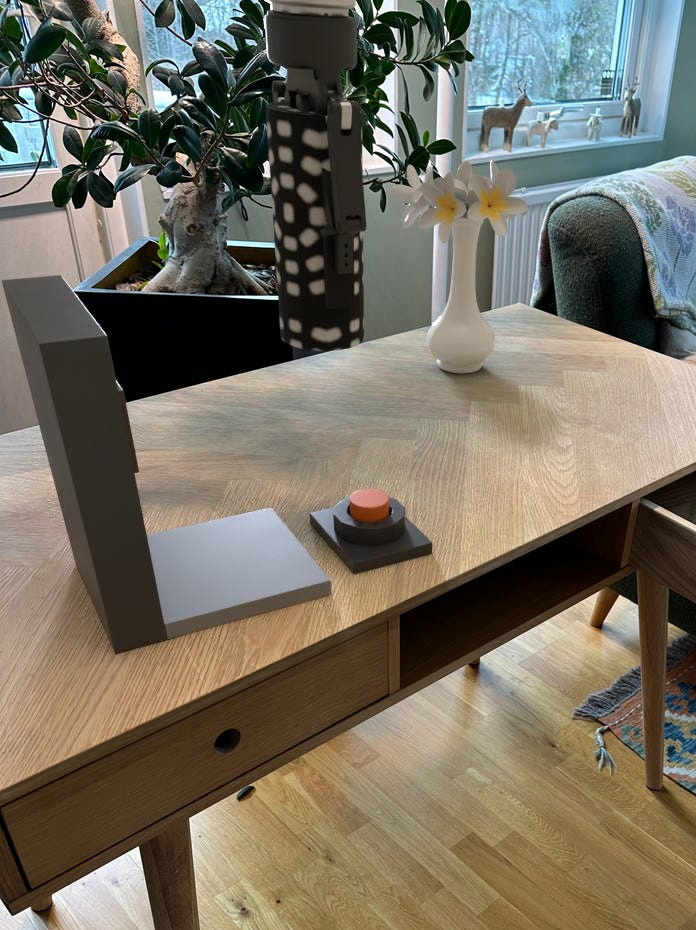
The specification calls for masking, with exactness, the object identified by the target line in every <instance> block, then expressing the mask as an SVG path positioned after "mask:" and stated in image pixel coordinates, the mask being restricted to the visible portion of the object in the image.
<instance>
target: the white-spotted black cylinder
mask: <svg viewBox="0 0 696 930" xmlns="http://www.w3.org/2000/svg"><path fill="white" fill-rule="evenodd" d="M326 115H327V114H326ZM326 115H322V114H316V113H314V112H302V111H299V110H297V107H289V106H287V105H284V102H274V101H273V102H269V103H266V104H265V116H266V117H265V118H266V132H267V133H266V135H267V151H268V163H269V179H270V180H269V181H270V194H271V195H270V196H271V209H272V225H273V241H274V253H275V254H274V255H275V269H276V270H275V271H276V286H277V301H278V313H279V314H278V315H279V330H280V338H281V340H282V342H283V343H286V344H287V345H289V346H292V347H294V348H298V349H302V350H307V351H315V352H316V351H317V352H334V351H335V352H336V351H342V350H348V349H352V348H354V347H357V346H359V345H361V344H362V343H363V342H364V340H365V308H364V307H365V299H364V298H365V293H364V292H365V291H364V290H365V289H364V286H365V283H364V280H365V279H364V232H357V234H354V290H355V307H346V308H336V309H327V308H326V307H325V285H324V256H323V236H322V235H321V233H320V230H321V229H323V228H325V227H327V224H326V219H325V213H324V208H323V198H322V168H324V169H326V170H328V171H330V161H329V150H328V139H327V124H326V122H325V116H326ZM359 138H360V151H361V163H362V176H363V177H364V175H363V173H364V172H363V171H364V169H363V110H361V109H360V128H359ZM321 167H322V168H321Z"/></svg>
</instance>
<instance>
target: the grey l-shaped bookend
mask: <svg viewBox="0 0 696 930" xmlns="http://www.w3.org/2000/svg"><path fill="white" fill-rule="evenodd" d="M1 284H2V289H3V292H4V295H5V300H6V304H7V307H8V312H9V316H10V318H11V322H12V326H13V330H14V334H15V339H16V342H17V346H18V349H19V353H20V357H21V361H22V365H23V368H24V373H25V376H26V380H27V385H28V388H29V391H30V395H31V400H32V403H33V407H34V411H35V415H36V418H37V422H38V426H39V429H40V433H41V438H42V441H43V446H44V449H45V452H46V456H47V461H48V464H49V468H50V472H51V477H52V480H53V483H54V487H55V491H56V494H57V498H58V503H59V505H60V510H61V514H62V517H63V521H64V525H65V529H66V532H67V537H68V541H69V544H70V548H71V552H72V556H73V560H74V563H75V564H74V565H75V567H76V569H77V572H78V574H79V576H80V578H81V580H82V582H83V585H84V587H85V589H86V591H87V594H88V596H89V598H90V600H91V602H92V605H93V607H94V609H95V611H96V614H97V617H98V619H99V621H100V623H101V625H102V627H103V630H104V632H105V635H106V636H107V639H108V641H109V643H110V645H111V648H112V650H113V653H114V654H120V653H123V652H126V651H131V650H134V649H138V648H142V647H146V646H149V645H152V644H157V643H160V642H163V641H167V640H171V639H174V638H178V637H183V636H186V635H189V634H193V633H197V632H200V631H204V630H207V629H211V628H215V627H219V626H223V625H225V624H226V625H227V624H230V623H234V622H237V621H241V620H245V619H247V618H251V617H255V616H258V615H262V614H266V613H270V612H273V611H276V610H281V609H284V608H288V607H291V606H292V607H293V606H295V605H299V604H302V603H306V602H309V601H313V600H318V599H321V598H324V597H328V596H331V595H332V593H333V592H332V580H331V579H330V577H329V576H328V575H327V574H326V572H325V571H324V570H323V569H322V568H321V566H320V564H319V563H317V562H316V560H315V559H314V558H313V557H312V555H311V554H310V553H309V552H308V551H307V549H306V548H305V547H304V546H303V544H302V543H301V541H299V540H298V538H297V537H296V536H295V535H294V533H293V532H292V531H291V530H290V528H289V527H288V526H287V525H286V524H285V522H284V521H283V520H282V519H281V518H280V516H279V515H278V513H276V511H275V510H274V509H273V508H272V507H271V506H270V507H267V508H262V509H257V510H252V511H248V512H243V513H239V514H235V515H229V516H225V517H221V518H216V519H212V520H206V521H201V522H199V523H193V524H188V525H184V526H180V527H174V528H170V529H167V530H162V531H157V532H153V533H149V534H148V533H147V530H146V524H145V518H144V514H143V510H142V509H143V508H142V505H141V504H142V503H141V499H140V494H139V489H138V484H137V478H136V474H138V473H140V468H139V463H138V458H137V457H138V456H137V453H136V448H135V442H134V437H133V432H132V426H131V421H130V416H129V411H128V406H127V401H126V396H125V391H124V390H123V388H122V387H121V385H120V384H119V382H118V381H117V377H116V374H115V373H116V372H115V368H114V363H113V358H112V353H111V347H110V343H109V337H108V335H107V334H106V332H105V331H104V330H103V329H102V326H101V324H100V323H98V322H97V321H96V319H95V318H94V317H93V315H92V314H91V313H90V312H89V310H88V309H87V307H86V306H85V305H84V303H83V302H82V301H81V299H80V298H79V296H78V295H77V294H76V293H75V292H74V290H73V289H72V288H71V287H70V285H69V284H68V282H67V281H66V279H65V278H64V277H63V276H62V275H61V274H57V275H48V276H46V275H45V276H36V277H23V278H13V279H12V278H11V279H2V280H1Z"/></svg>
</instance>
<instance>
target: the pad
mask: <svg viewBox="0 0 696 930" xmlns="http://www.w3.org/2000/svg"><path fill="white" fill-rule="evenodd" d="M388 497H389V516H388V518H386V519H385V520H381V521H377V522H361V521H358V520H355V519H352V518H351V516H350V496H346V497H345V498H343V499H342V500H341V501H339V502H338V503H336V504H335V505H334V507H329V508H324V509H321V510H316V511H311V512H309V524H310V525H311V526H312V527H313V528H314V530H315V531H316V532H317V533H318V534H319V536H320V537H321V538H322V539H323V541H324V542H326V544H327V545H328V546H329V547H330V549H332V551H333V552H334V553H335V554H336V556H337V557H338V558H339V559H340V560H341V561H342V562H343V564H344V565H345V566H346V567H347V568H348V569H349V570H350V572H351V573H352V574H353V575H358V574H360V573H361V574H362V573H365V572H369V571H373V570H376V569H380V568H383V567H387V566H392V565H394V564H399V563H403V562H406V561H409V560H413V559H417V558H421V557H424V556H428V555H432V554H433V546H434V545H433V542H432V541H431V540H430V539H429V538H428V537H427V535H425V534H424V533H423V532H422V531H421V530H420V529H419V528H418V527H417V526H416V525H415V524H414V523H413V522H412V521H410V519H409V518H407V516H406V507H405V506H404V505H403V504H402V503H401V502H400V501H399V500H398V499H397V498H393V497H390V496H388Z"/></svg>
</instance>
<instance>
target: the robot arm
mask: <svg viewBox="0 0 696 930" xmlns="http://www.w3.org/2000/svg"><path fill="white" fill-rule="evenodd" d="M265 2H267V3H270V10H267V11H266V14H265V15H264V22H265V25H264V26H265V40H266V41H265V43H266V55H267V56H266V57H267V58H268V61H269V62H270V63H271V64H273V65H275V66H277V67H278V66H279V67H283V68H286V77H285V80H273V81H272V83H271V92H272V100H273V102H284V105H287V106H289V107H297V110H299V111H302V112H314V113H316V114H322V115H326V114H327V115H326V116H325V122H326V124H327V139H328V150H329V161H330V171H328V170H326V169H324V168H322V167H321V168H322V198H323V208H324V213H325V219H326V224H327V227H325V228H323V229H321V230H320V233H321V235H322V236H323V256H324V285H325V307H326V308H327V309H336V308H346V307H355V290H354V234H357V232H363V233H364V232H366V230H367V216H366V215H367V214H366V202H365V190H364V175H363V176H362V163H361V151H360V138H359V128H360V110H361V104H360V102H359V101H358V100H345V99H344V92H343V86H342V80H341V74H342V72H343V71H351V70H354V69H355V68H356V66H357V64H358V27H357V25H358V24H357V23H358V22H357V21H355V18H354V17H353V16H349V13H350V11H349V10H353V9H354V8H355V7H356V5H357V0H265Z"/></svg>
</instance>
